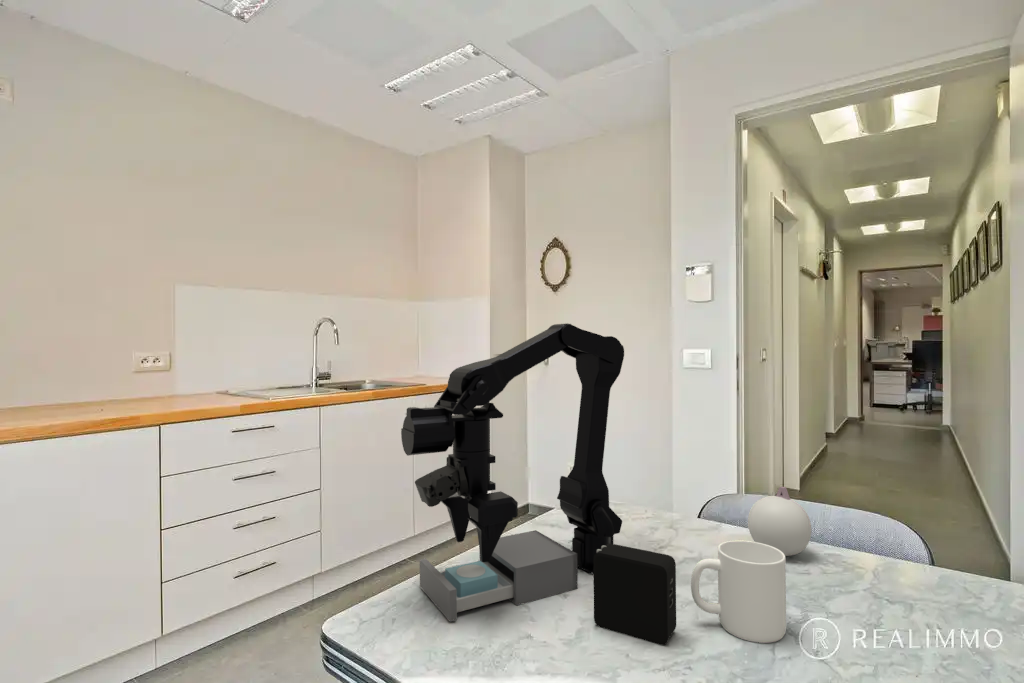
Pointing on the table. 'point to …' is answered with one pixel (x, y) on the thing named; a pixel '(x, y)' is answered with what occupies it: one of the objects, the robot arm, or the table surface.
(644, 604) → the electronic device
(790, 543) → the ornament
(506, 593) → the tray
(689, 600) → the table surface
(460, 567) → the block
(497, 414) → the robot arm
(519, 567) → the grey drawer box
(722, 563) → the cup
